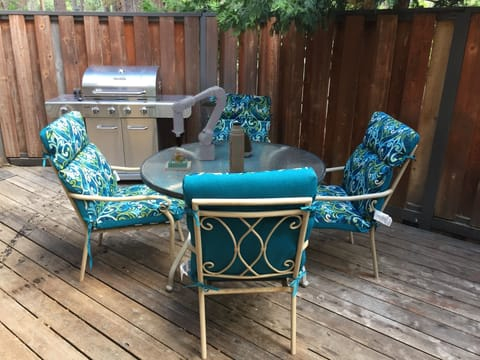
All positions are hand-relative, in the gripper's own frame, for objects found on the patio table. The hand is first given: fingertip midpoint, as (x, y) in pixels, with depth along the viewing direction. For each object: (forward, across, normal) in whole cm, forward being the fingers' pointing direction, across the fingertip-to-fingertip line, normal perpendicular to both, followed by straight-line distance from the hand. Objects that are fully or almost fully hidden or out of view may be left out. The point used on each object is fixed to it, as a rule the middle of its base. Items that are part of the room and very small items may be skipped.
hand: (179, 145), depth 243 cm
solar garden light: (+10, -30, +18) cm, 37 cm away
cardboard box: (+8, +8, 0) cm, 12 cm away
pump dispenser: (+10, -10, +39) cm, 41 cm away
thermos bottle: (+10, +24, +33) cm, 42 cm away
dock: (+9, +12, 0) cm, 15 cm away
